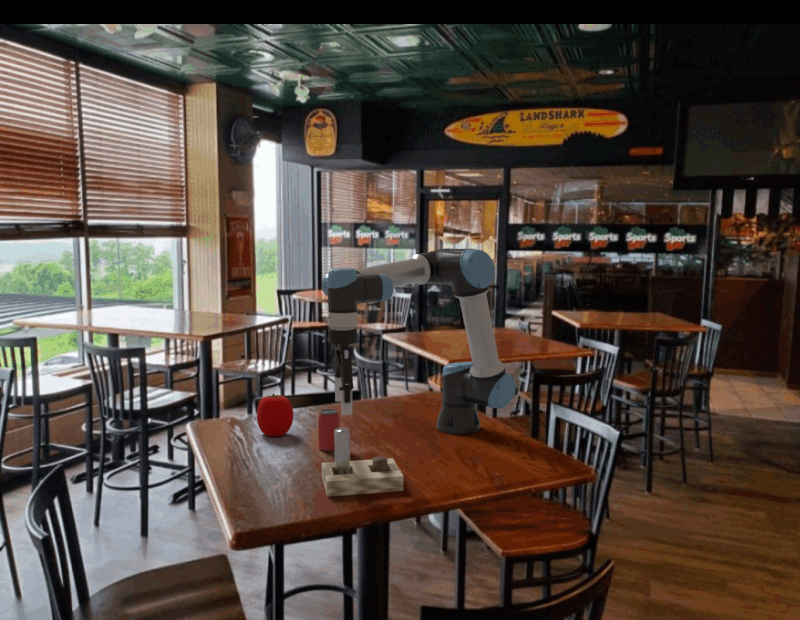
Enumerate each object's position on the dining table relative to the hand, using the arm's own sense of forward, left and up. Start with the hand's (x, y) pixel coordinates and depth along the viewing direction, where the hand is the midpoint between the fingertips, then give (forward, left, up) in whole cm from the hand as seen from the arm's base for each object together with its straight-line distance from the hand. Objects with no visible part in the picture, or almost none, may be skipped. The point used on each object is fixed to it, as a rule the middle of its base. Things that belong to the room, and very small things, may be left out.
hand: (343, 407), depth 171 cm
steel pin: (0, 0, -20) cm, 20 cm away
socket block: (-5, 0, -21) cm, 22 cm away
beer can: (+1, -30, -21) cm, 37 cm away
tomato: (+17, -48, -21) cm, 55 cm away
